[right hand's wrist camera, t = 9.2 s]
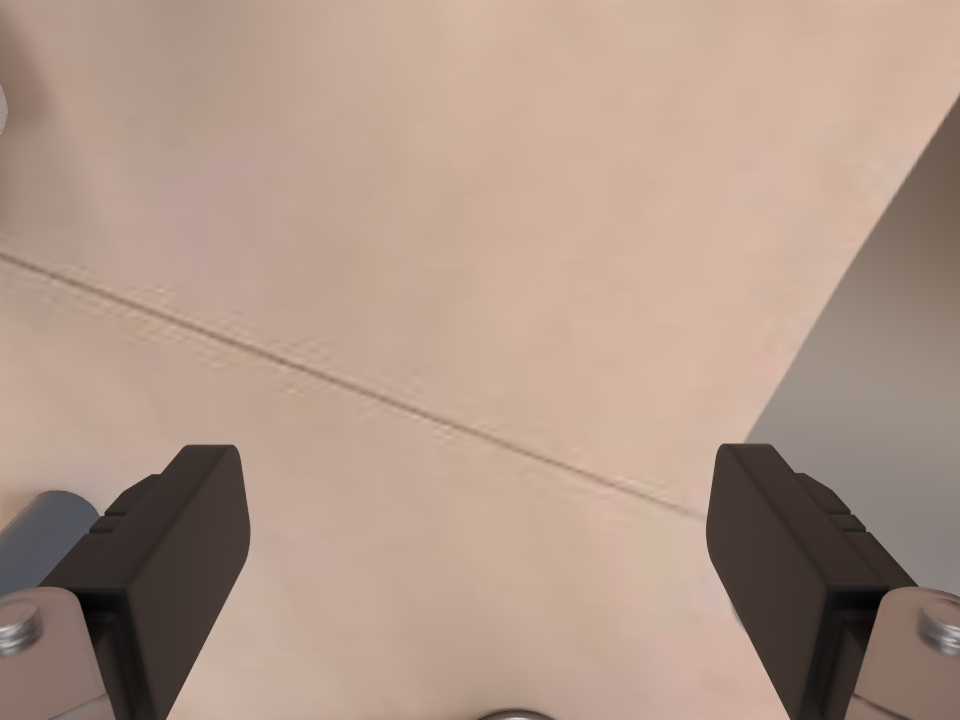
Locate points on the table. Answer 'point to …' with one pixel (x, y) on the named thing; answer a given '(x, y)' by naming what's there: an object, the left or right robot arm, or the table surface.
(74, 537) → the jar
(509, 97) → the table surface
